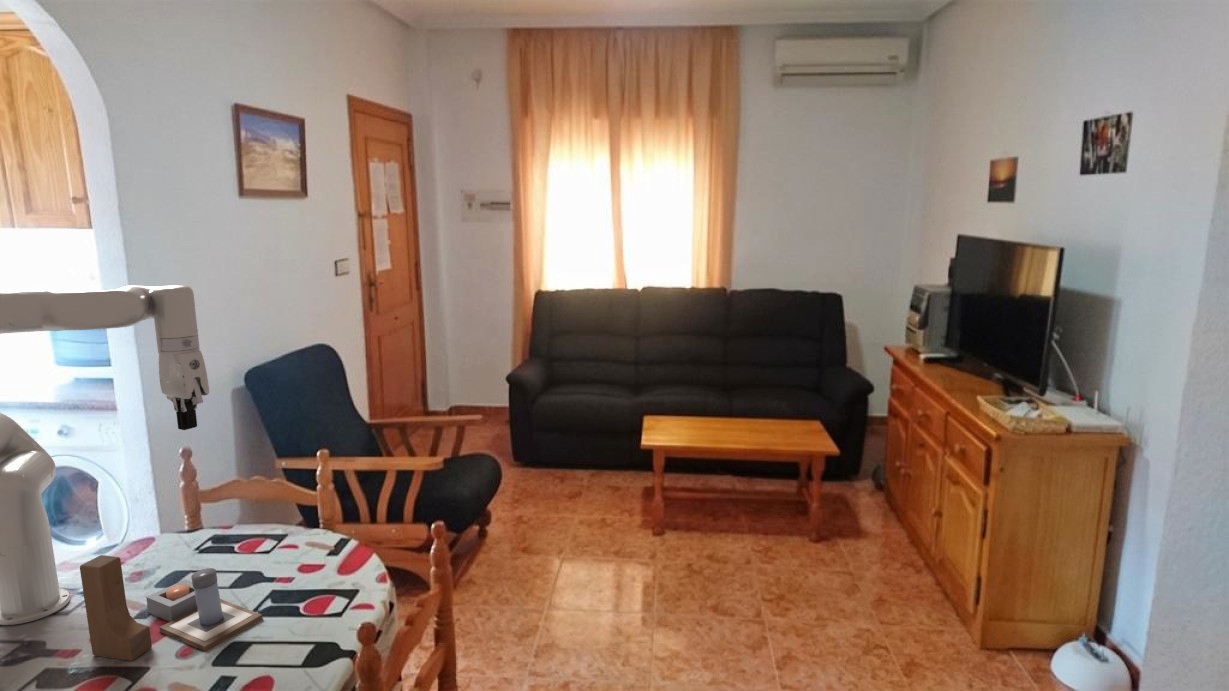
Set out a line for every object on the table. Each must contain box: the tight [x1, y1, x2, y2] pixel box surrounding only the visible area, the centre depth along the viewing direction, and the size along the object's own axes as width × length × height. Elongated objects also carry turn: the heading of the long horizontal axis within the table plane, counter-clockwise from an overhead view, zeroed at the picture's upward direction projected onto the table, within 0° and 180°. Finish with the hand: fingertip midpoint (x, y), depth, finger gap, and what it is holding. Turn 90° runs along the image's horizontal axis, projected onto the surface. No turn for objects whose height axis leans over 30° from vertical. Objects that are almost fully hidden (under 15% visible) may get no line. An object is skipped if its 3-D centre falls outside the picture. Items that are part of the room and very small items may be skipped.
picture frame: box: [159, 598, 264, 652], centre depth 139 cm, size 14×12×1 cm
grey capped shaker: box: [190, 567, 223, 626], centre depth 138 cm, size 4×4×10 cm
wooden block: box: [79, 554, 153, 662], centre depth 129 cm, size 9×4×18 cm, turn 78°
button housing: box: [146, 579, 197, 623], centre depth 145 cm, size 8×8×4 cm
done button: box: [166, 585, 190, 601], centre depth 145 cm, size 4×4×2 cm
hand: (187, 428), depth 151 cm, fingers closed
